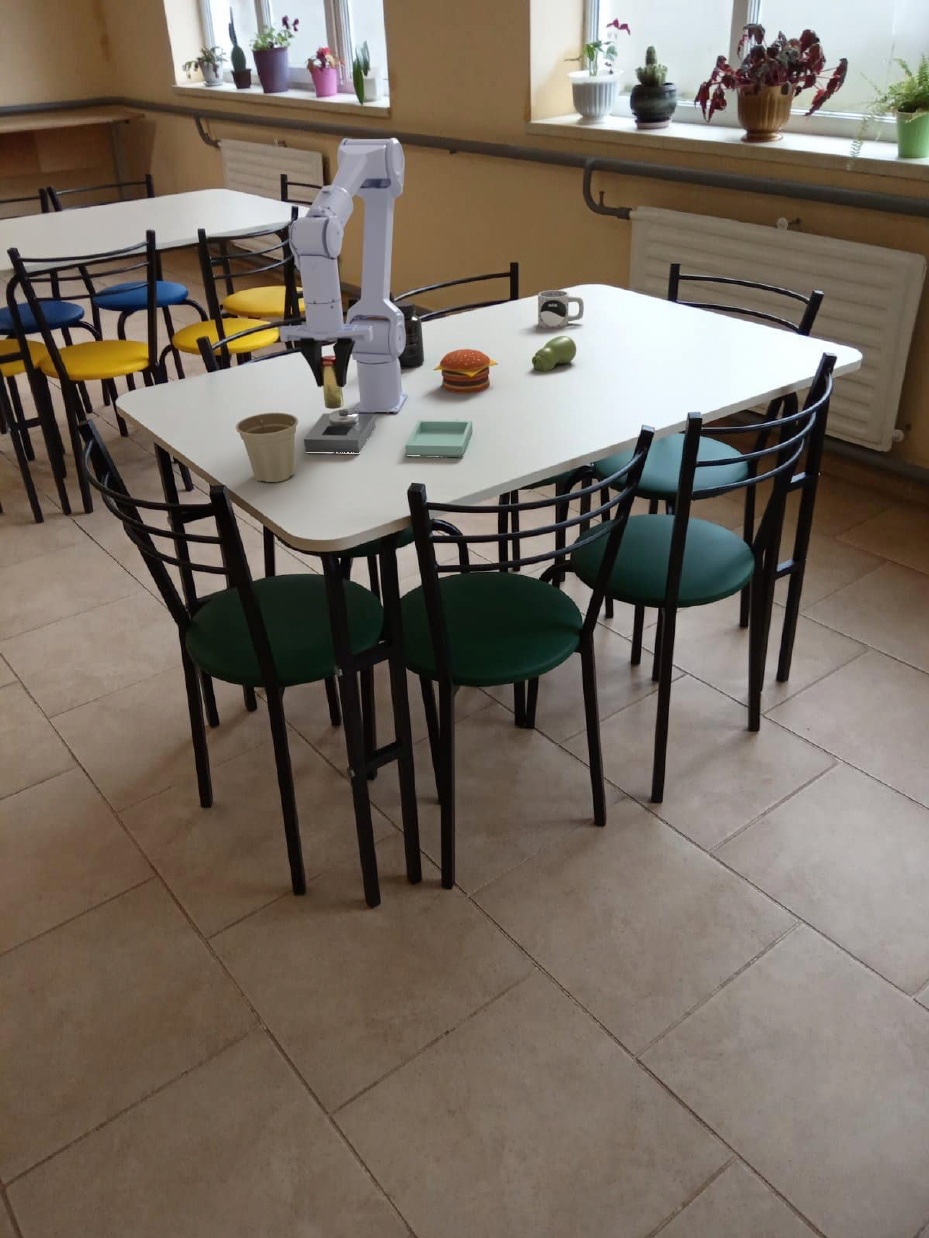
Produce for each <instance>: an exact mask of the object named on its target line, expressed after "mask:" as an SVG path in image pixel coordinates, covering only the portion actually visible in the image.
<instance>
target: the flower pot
mask: <svg viewBox="0 0 929 1238" xmlns="http://www.w3.org/2000/svg"><path fill="white" fill-rule="evenodd" d="M298 424H299V420H298V417H296V416H295V415H293V414H289V413H285V412H265V413H259V414H254V415H251V416H248V417H245V418H242V420H241V419H240V421H238V422H237V423H236V425H235V430H236V432H238V433H239V436H240V438H241V440H242V441H243V443H244V446H245V449H246V454H247V456H248V459H249V463H250V465H251V468H252V472H253V475H254V478H255V479H256V480H257V481H258V480H259V482H266V483H268V482H275V483H278V482H279V481H280V482H284V481H286V479H287V480H289V479H290V477H292V475H293V476H294V475H295V473H296V472H295V471H296V470H295V465H296V464H295V435H296V432H297V426H298Z"/></svg>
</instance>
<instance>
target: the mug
mask: <svg viewBox="0 0 929 1238" xmlns="http://www.w3.org/2000/svg"><path fill="white" fill-rule="evenodd" d="M569 303H577V304H578V313H577V314H576V315H575V314H574V315H571V314H570V315H569ZM584 305H585V303H584V300H583V298H581V297H578V296H574V295H573V296H572V295H569V292H567V291H566V290H559V289H558V290H556V289H555V290H554V289H552V290H551V289H550V290H544V291H540V292H538V294H537V323H538V327H541V328H542V329H561V328H566V327H567V326H569V322H574V321H579V320H581V319H582V318H583V316H584V308H585V306H584Z"/></svg>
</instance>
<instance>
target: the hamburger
mask: <svg viewBox="0 0 929 1238" xmlns="http://www.w3.org/2000/svg"><path fill="white" fill-rule="evenodd" d="M492 366H498V362H496V361H494V360H493V359H490V357H489V356H488V355H486V354H485V353H483V352H482V351H480V350H477V349H469V348H466V349H465V348H463V349H458V350H454V351H450V352H448V353H446V354H445V355H444V357H443V358H442V359H441V361H440V363H439V365H438V366H436V367H435V368H434V369H433V371H439V370H441V376H442V384H441V386H442V388H443V389H444V390H446V391H447V390H448V392H451V393H459V394H465V393H466V394H471V393H476V391H477V392H481V391H483V390H486V389H487V388H488V387H490V384H491V383H490V381H491V380H490V376H489V375H490V367H492ZM480 390H481V391H480Z"/></svg>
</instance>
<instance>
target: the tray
mask: <svg viewBox="0 0 929 1238" xmlns="http://www.w3.org/2000/svg"><path fill="white" fill-rule="evenodd" d="M472 432H473V421H472V420H427V419H426V420H417V422H416V423H415V426H414V428H413V430H412V431H411V434H410V435H409V438H408V439H407V442H406V443H405V456H406V455H420V456H439V457H441V456H442V457H463V458H464V456H465V454H464V453H466V451H467V448H468V446H469V443H470V441H469V440H471V437H472V435H473V433H472ZM468 442H469V443H468ZM467 445H468V446H467ZM465 450H466V451H465ZM463 455H464V456H463Z"/></svg>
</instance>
